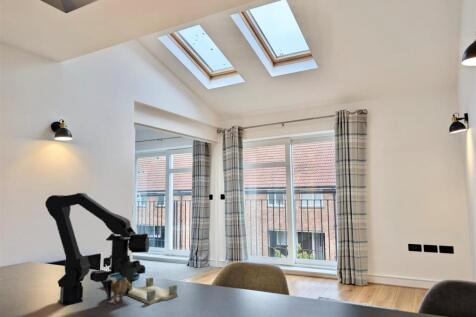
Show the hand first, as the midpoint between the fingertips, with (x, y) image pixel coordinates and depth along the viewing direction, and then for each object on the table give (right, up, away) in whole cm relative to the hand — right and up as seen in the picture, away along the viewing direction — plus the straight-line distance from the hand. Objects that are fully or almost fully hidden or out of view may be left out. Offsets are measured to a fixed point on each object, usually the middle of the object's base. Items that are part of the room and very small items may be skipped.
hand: (118, 296), depth 116 cm
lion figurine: (-1, -2, +1) cm, 2 cm away
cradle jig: (+10, -2, +7) cm, 12 cm away
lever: (-8, -5, +24) cm, 26 cm away
